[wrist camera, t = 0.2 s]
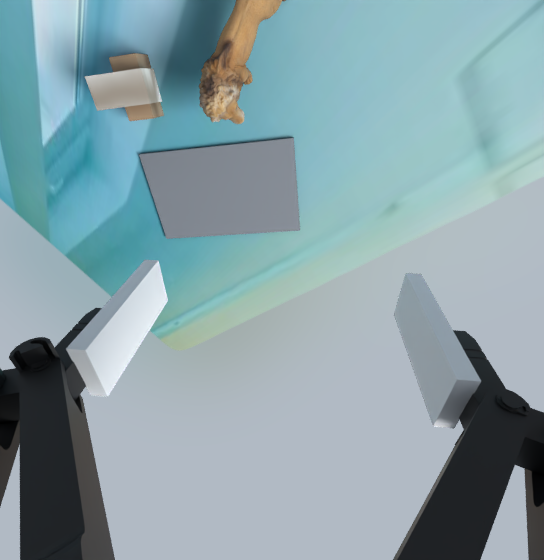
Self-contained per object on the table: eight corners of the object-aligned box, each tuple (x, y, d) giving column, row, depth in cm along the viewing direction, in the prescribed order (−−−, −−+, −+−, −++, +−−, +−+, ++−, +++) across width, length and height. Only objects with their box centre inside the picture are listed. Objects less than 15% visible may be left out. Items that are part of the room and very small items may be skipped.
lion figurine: (250, 124, 37) (235, 136, 30) (208, 105, 36) (182, 113, 29) (301, -37, 29) (298, -75, 22) (248, -65, 28) (226, -114, 21)
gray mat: (140, 153, 40) (138, 154, 40) (293, 137, 37) (293, 138, 37) (167, 237, 47) (166, 238, 46) (299, 228, 44) (299, 230, 43)
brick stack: (110, 60, 35) (77, 58, 30) (160, 52, 34) (134, 49, 29) (129, 119, 38) (103, 126, 33) (175, 113, 37) (155, 119, 32)
